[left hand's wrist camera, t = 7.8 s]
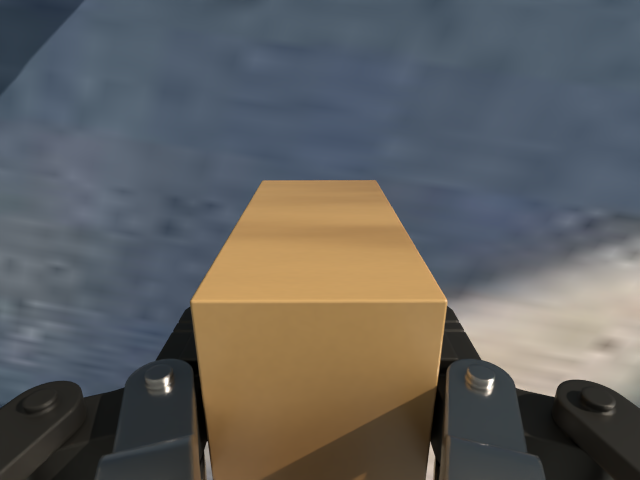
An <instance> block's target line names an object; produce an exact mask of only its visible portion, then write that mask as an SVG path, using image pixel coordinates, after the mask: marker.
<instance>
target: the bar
mask: <svg viewBox="0 0 640 480" xmlns="http://www.w3.org/2000/svg"><path fill="white" fill-rule="evenodd" d="M190 307H191V314H192V322H193V330H194V337H195V345H196V353H197V361H198V368H199V376H200V384H201V391H202V399H203V407H204V415H205V422H206V430H207V438H208V445H209V453H210V461H211V469H212V476H213V480H426V471H427V463H428V455H429V447H430V439H431V431H432V423H433V415H434V407H435V398H436V390H437V382H438V374H439V366H440V358H441V350H442V342H443V334H444V326H445V317H446V309H447V299H446V298H445V296H444V294H443V292H442V291H441V289H440V287H439V286H438V284H437V282H436V281H435V279H434V277H433V276H432V274H431V272H430V271H429V269H428V267H427V266H426V264H425V262H424V261H423V259H422V257H421V256H420V254H419V252H418V250H417V249H416V247H415V245H414V244H413V242H412V240H411V239H410V237H409V235H408V234H407V232H406V230H405V229H404V227H403V225H402V224H401V222H400V220H399V219H398V217H397V215H396V214H395V212H394V210H393V208H392V207H391V205H390V203H389V202H388V200H387V198H386V197H385V195H384V193H383V192H382V190H381V188H380V187H379V185H378V183H377V182H376V181H375V180H298V181H262V182H261V184H260V186H259V187H258V189H257V191H256V192H255V194H254V196H253V197H252V199H251V201H250V202H249V204H248V206H247V207H246V209H245V210H244V212H243V214H242V215H241V217H240V219H239V220H238V222H237V224H236V225H235V227H234V229H233V230H232V232H231V234H230V235H229V237H228V239H227V240H226V242H225V244H224V245H223V247H222V249H221V250H220V252H219V254H218V255H217V257H216V259H215V260H214V262H213V264H212V265H211V267H210V269H209V270H208V272H207V274H206V275H205V277H204V279H203V280H202V282H201V284H200V285H199V287H198V289H197V290H196V292H195V294H194V295H193V297H192V299H191V301H190Z"/></svg>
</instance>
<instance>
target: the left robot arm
mask: <svg viewBox="0 0 640 480" xmlns="http://www.w3.org/2000/svg"><path fill="white" fill-rule="evenodd" d="M207 441H208V438H207V430H206V422H205V415H204V407H203V399H202V391H201V384H200V376H199V368H198V361H197V353H196V345H195V337H194V330H193V322H192V314H191V307H189V308H188V309H186V310H185V311H184V313H183V315H182V317H181V318H180V320H179V323H177V325H176V327H175V328H174V330H173V333H172V334H171V335H170V337H169V339H168V340H167V342H166V344H165V345H164V347H163V349H162V350H161V352H160V354H159V356H158V357H157V359H156V361H154V362H151V363H148V364H146V365H144V366H142V367H140V368H139V369H137V370H136V371H135V372H134V373H132V374H131V376H130V377H129V378H128V380H127V381H126V384H125V387H124V388H121V389H118V390H115V391H111V392H107V393H102V394H98V395H93V396H89V397H84V398H83V394H82V390H81V388H80V387H79V385H77V384H76V383H73V382H70V381H54V382H49V383H45V384H41V385H39V386H36V387H33V388H31V389H29V390H27V391H25V392H23V393H22V394H20V395H18V396H17V397H15V398H14V399H13V400H11V401H10V402H9V403H7V404H6V405H4V406H3V407H2V408H0V480H207V473H206V461H205V454H204V449H205V445H206V442H207ZM430 441H431V445H432V448H433V451H434V454H435V461H434V473H433V480H640V408H638V407H637V406H636V405H634V404H633V403H631V402H630V401H629V400H627V399H626V398H625V397H623V396H622V395H620V394H619V393H617V392H615V391H614V390H612V389H610V388H608V387H605V386H603V385H600V384H598V383H594V382H591V381H585V380H568V381H565V382H563V383H561V384H560V385H559V386H558V388H557V391H556V395H555V397H551V396H546V395H542V394H537V393H533V392H528V391H524V390H520V389H517V388H515V384H514V381H513V380H512V378H511V377H510V376H509V374H508V373H506V372H505V371H504V370H503V369H501V368H500V367H498V366H496V365H494V364H492V363H489V362H486V361H483V360H481V358H480V357H479V355H478V353H477V351H476V350H475V348H474V346H473V345H472V343H471V341H470V339H469V338H468V336H467V334H466V333H465V332H464V329H463V327H462V326H461V324H460V323H459V320H458V319H457V317H456V315H455V314H454V312H453V310H452V309H450V308H449V307H448V306H447V309H446V317H445V326H444V334H443V342H442V350H441V358H440V366H439V374H438V382H437V390H436V398H435V407H434V415H433V423H432V431H431V439H430Z"/></svg>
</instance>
